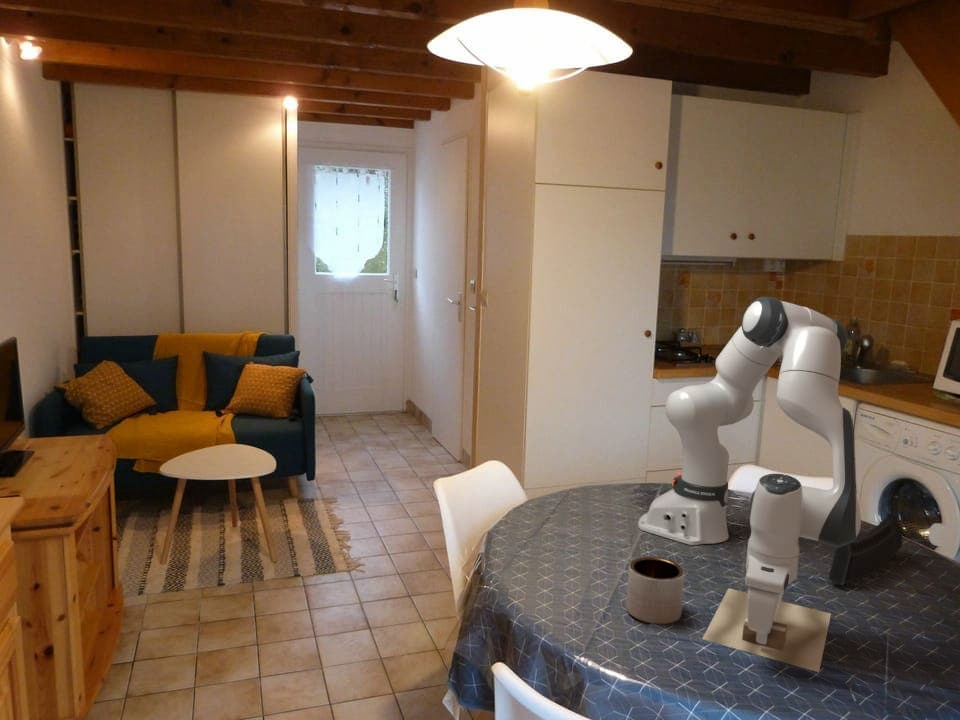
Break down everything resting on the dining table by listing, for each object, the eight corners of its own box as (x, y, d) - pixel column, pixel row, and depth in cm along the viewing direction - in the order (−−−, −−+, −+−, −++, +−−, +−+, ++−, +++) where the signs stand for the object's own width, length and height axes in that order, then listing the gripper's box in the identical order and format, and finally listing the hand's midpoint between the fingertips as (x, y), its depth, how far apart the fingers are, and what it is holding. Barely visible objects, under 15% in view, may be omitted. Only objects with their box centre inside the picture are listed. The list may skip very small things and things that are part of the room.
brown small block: (742, 639, 138) (743, 624, 138) (746, 629, 142) (747, 614, 142) (782, 650, 135) (783, 635, 134) (785, 639, 139) (787, 624, 138)
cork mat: (701, 641, 138) (702, 638, 138) (728, 590, 159) (728, 588, 159) (818, 675, 129) (818, 672, 128) (830, 616, 149) (831, 613, 149)
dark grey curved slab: (841, 554, 158) (902, 489, 174) (826, 549, 160) (888, 485, 177) (843, 619, 163) (903, 550, 180) (829, 613, 166) (888, 545, 182)
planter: (671, 632, 141) (675, 585, 140) (617, 615, 147) (620, 570, 145) (688, 609, 150) (691, 565, 149) (636, 594, 156) (639, 551, 155)
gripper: (763, 540, 146) (756, 605, 149) (743, 580, 129) (736, 653, 131) (797, 547, 143) (790, 614, 146) (782, 589, 126) (774, 664, 128)
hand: (764, 633), depth 138 cm, fingers open, 6 cm apart
